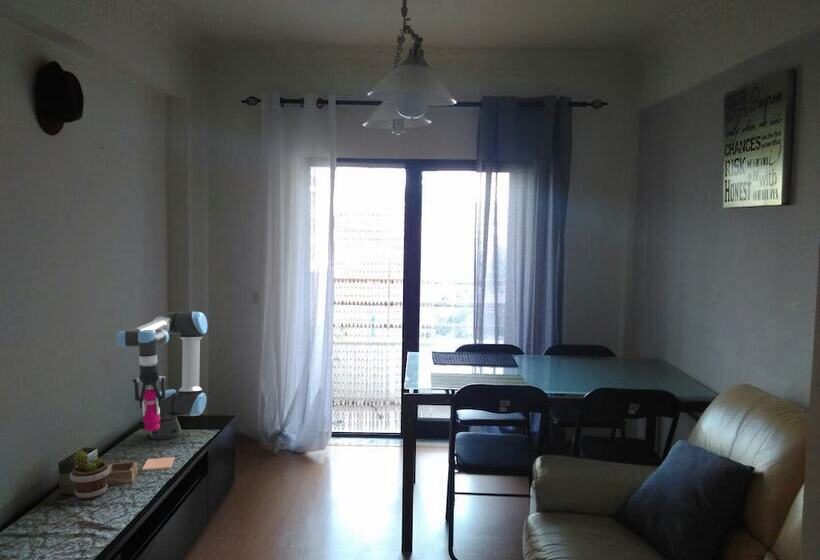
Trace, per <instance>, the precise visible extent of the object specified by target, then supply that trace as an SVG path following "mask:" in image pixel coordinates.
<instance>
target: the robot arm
mask: <svg viewBox="0 0 820 560" xmlns="http://www.w3.org/2000/svg"><path fill="white" fill-rule="evenodd" d="M207 331H208V321H207V317H206V315H205V314H204V313H203V312H201V311H173V312H168V313H164V314H161V315H159V316H156V317H155V318H154V319H152V321H150V322H147V323H145V324H142V325H140V326H138V327H135V328H133V329H130V330H120V331H118V332H117V334H116V338H115V339H116V340H115V341H116V344H117V346H118V347H120V348H121V347H122V348H138V361H139V377H135V378H133V380H132V381H133V385H134V400H135V401H138V402H139V409H142V417H144V416H145V412H146V404H145V399H144V398H143V394H144V392H145V391H146V390H147V387H148V386H151V387H152V388H153V389H154V390H155V393H156V396H157V398H156V399H157V400H156V409H157V415H160V421H159V423H158V424H159V425H160V428H159V429H158V430H155V431H149V432H150V434H149V435H150V438H151V439H153V440H167V439H173V438H176V437H178V436H180V435H181V434H182V428H181V425H180V423H179V421H178V417H179V416H180V417H181V416H182V417H183V416H184V417H189V416H190V417H195V416H201V414H203V412H204V411H205V408H206V405H207V394H206V393H205V392H203V388H202V387H201V386H200V373H201V372H200V367H201V366H200V364H201V362H200V360H201V358H200V357H201V356H200V355H201V340H202V339H203V338H204V335H205V334H207ZM170 335H179V339H181V340H182V354H181V355H182V358H181V359H182V361H181V363H182V365H181V367H182V368H181V387H180V388H179V389H178V392H177V390H176V389H167V390H166V384H165V381H166V376H165V375H164V376H162V375H160V373H159V365H158V362H159V361H158V348H160V347H162V346H164V345H165V344H167V343H168V342H169V340H170ZM158 380H159V382H160V387H161V388H160V389H161V390H160V389H159V387H158V383H157V381H158ZM140 381H141V382H142V387H141V392H140V383H139V382H140Z"/></svg>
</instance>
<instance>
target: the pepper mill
mask: <svg viewBox="0 0 820 560" xmlns="http://www.w3.org/2000/svg"><path fill="white" fill-rule="evenodd" d="M143 398H144V399H143V400H145V404H146V412H145V416H143V419H142V422H143V424H144V430H145V431H146V432H151V431H155V430H158V429H159V428H160V425H159V424H158V423H159V421H160V415H157V409H156V400H157V399H156V398H157V396H156V393H155V390H154V388H153V386H152V385H148V386H147V389H146V390H145V392H144V394H143Z"/></svg>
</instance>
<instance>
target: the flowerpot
mask: <svg viewBox="0 0 820 560" xmlns="http://www.w3.org/2000/svg"><path fill="white" fill-rule="evenodd" d="M89 457H90V456H89V455H88V452H86V451H84V450H81V449H80V448H78V449H76V451H75V454H74V455H73V457H72V462H74V463H73V466H75V467H76V466H77V467H76V468H75V467H74V468H72V471H71V472H70V473H69V477H68V479H70V481H71V482H72V483H73V486H74V488H75V489H74V495H75V496H76V497H77V498H78V499H79V498H80V500H82V499H87V500H93V499H94V498H95V497H97V498H99V496H100V497H101V495H102V496H103V495H105V492H106V491H108V490H107V489H108V486H109V484H107V483H106V482H107V477H108V474H109V473H110V469H111V468H110V466H109V465H110V464H108V463H107V462H106V461H103V459H102V458H101V457H98V456H94V458H93V459H92V460H91V461H89ZM92 498H93V499H92ZM95 499H96V498H95Z"/></svg>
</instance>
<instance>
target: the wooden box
mask: <svg viewBox="0 0 820 560" xmlns="http://www.w3.org/2000/svg"><path fill="white" fill-rule="evenodd" d="M108 465H109V466H110V468H111V469H110V473H109V474H108V477H107V482H106V483H107V484H108V485H116V484H117V485H118V484H126V483H127V484H128V483H133V482H134V480H135V478H136V476H137V475H138V471H139V469H138V461H129V462H127V461H126V462H125V461H124V462H116V463H114V462H113V463H110V464H108Z"/></svg>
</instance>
